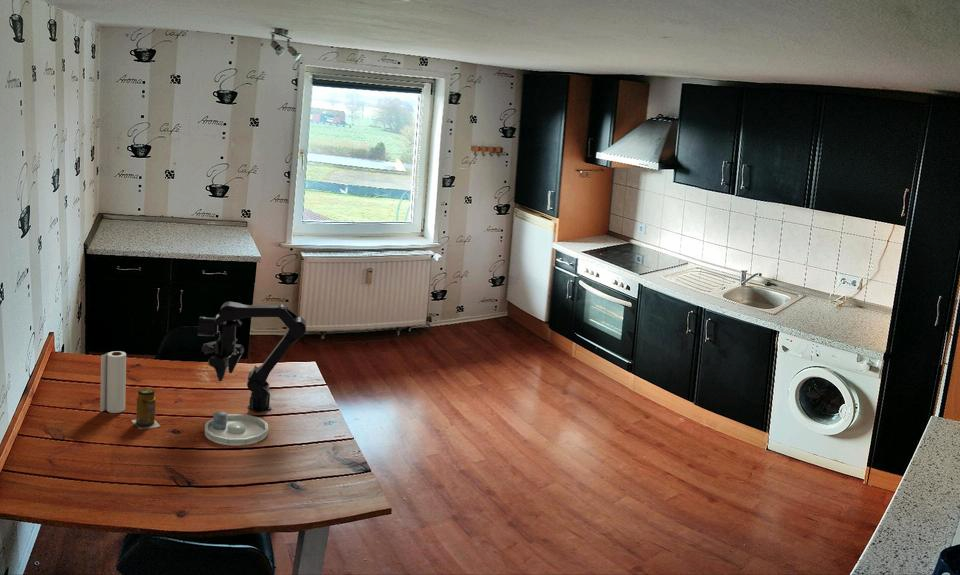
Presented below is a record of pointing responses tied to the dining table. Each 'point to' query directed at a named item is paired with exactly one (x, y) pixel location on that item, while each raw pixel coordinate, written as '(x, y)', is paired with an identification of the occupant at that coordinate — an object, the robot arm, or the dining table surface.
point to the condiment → (145, 409)
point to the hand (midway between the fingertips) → (225, 376)
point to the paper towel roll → (113, 382)
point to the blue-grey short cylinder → (219, 420)
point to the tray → (248, 433)
